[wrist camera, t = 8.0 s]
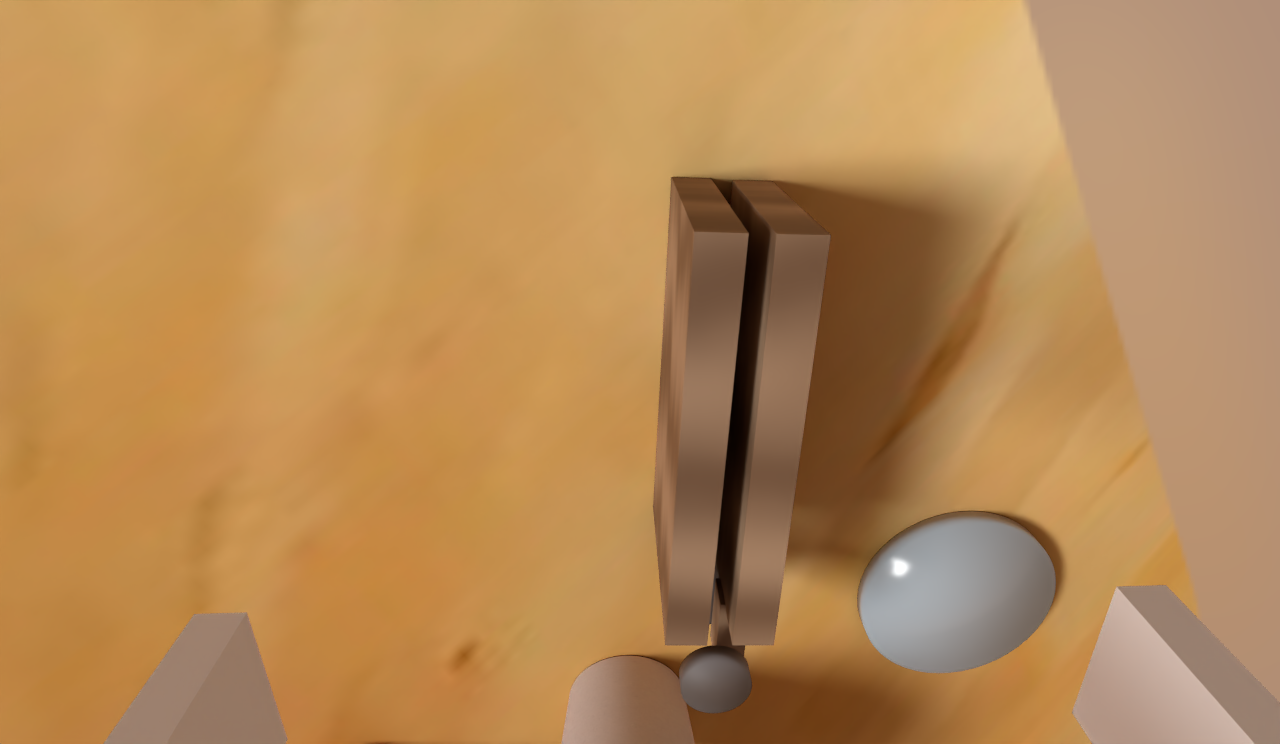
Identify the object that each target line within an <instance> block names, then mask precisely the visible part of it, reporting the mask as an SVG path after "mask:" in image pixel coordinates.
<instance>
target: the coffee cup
mask: <svg viewBox="0 0 1280 744" xmlns="http://www.w3.org/2000/svg"><path fill="white" fill-rule="evenodd" d="M562 744H695V742H694V737H693V733H692V728H691V723H690V718H689V714H688V709H687V704H686V702H685V701H684V699H683V697H682V695H681V688H680V680H679V678H678V677H677V676H676V674H675V673H674V672H673V671H672V670H671V669H669V668H668V667H667V666H665V665H663V664H662V663H660V662H658V661H655V660H652V659H649V658H645V657H640V656H617V657H612V658H608V659H604V660H602V661H599V662H597V663H595V664H593V665H591V666H590V667H588V668H587V669H585V670H584V671H583V672H582V673H581V674H580V675H579V676H578V677H577V679H576V680H575V682H574V683H573V685H572V688H571V691H570V696H569V702H568V708H567V714H566V720H565V726H564V732H563V738H562Z"/></svg>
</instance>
